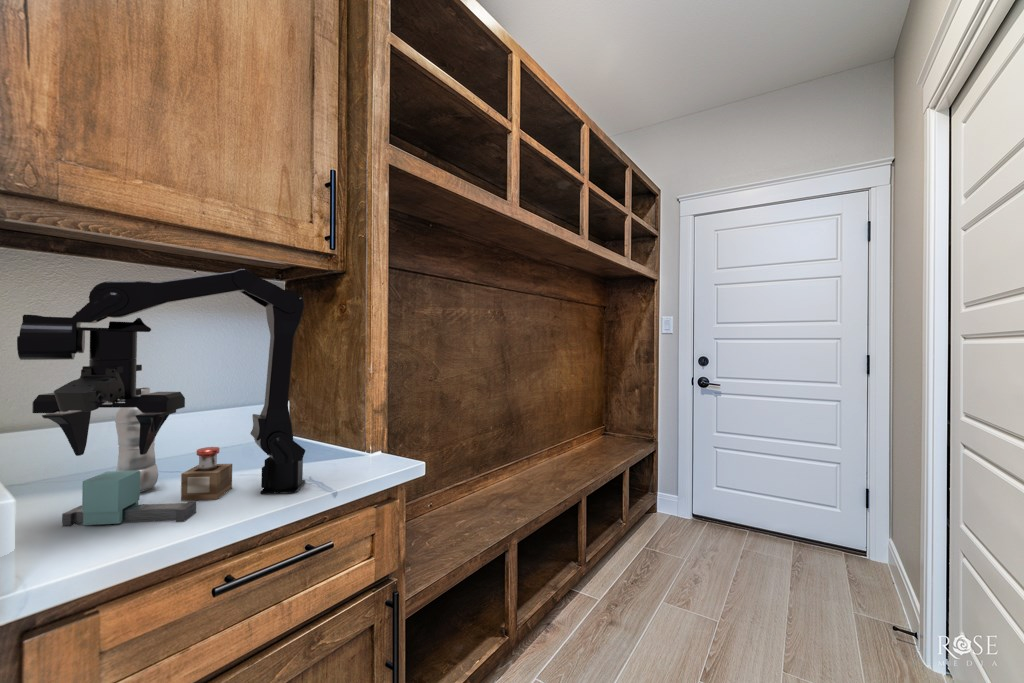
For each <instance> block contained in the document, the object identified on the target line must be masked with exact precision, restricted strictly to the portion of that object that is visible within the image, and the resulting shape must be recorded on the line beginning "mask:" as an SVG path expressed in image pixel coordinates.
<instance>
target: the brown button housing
mask: <svg viewBox="0 0 1024 683" xmlns="http://www.w3.org/2000/svg"><path fill="white" fill-rule="evenodd" d="M180 477H181V478H180V482H181V483H180V501H181V502H182V501H183V502H186V501H187V502H191V501H214V500H215V501H217V500H218V499H220V498H221V497H222V496H224V495H225V494H227V493H228V492H229V491H231V490H233V463H217V469H215V470H214V471H199V464H198V465H195V466H194V467H191V468H190V469H188V470H186V471H184V472H181V476H180ZM226 492H227V493H226ZM219 497H220V498H219Z"/></svg>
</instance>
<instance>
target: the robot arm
mask: <svg viewBox="0 0 1024 683" xmlns="http://www.w3.org/2000/svg"><path fill="white" fill-rule="evenodd" d="M237 292H240V293H241V294H243V295H245V297H248V298H249V299H251V300H252V301H254V302H255V303H257V304H258V305H260V306H262V307H264V308H265V313H266V321H267V326H268V330H269V336H270V338H269V346H268V347H269V348H268V361H267V371H266V372H267V374H266V384H265V394H264V404H263V407H262V409H261V412H260V414H255V413H253V414H252V430H251V431H250V435H251V436H252V437H253V439H254V442H255V444H256V445H257V446H258V447H259V448H260V449H261V450H262V451H263V452H264V453H265V454H266V455H267V456H268V457H267V458H265V459H264V465H263V466H262V467H261V489H260V495H267V494H293V493H297V492H298V491H299V490H300V488H302V486H304V484H305V483H306V480H305V479H304V478H303V474H304V472H303V470H304V469H303V466H304V461H303V460H304V455H305V453H306V449H305V448H303V447H302V446H301V445H300V444H299V443H298V442H296V441H295V440H294V434H293V433H294V432H293V425H292V424H293V423H292V419H291V418H292V417H291V414H290V410H289V397H290V388H291V375H292V374H291V373H292V364H293V353H294V352H293V350H294V342H295V341H294V338H295V335H296V332H297V330H299V329H298V328H299V326H300V324H301V320H302V318H303V314H304V310H305V300H304V298H303V296H302V295H301V294H300V293H298V292H297V291H295V290H292V289H284V288H282V287H280V286H278V285H277V284H275V283H272V282H270V281H268V280H266V279H265V278H262V277H260V276H258V275H256V274H255V273H253V272H252V271H251V270H249V269H245V268H240V269H236V270H233V271H227V272H219V273H212V274H205V275H199V276H191V277H184V278H178V279H177V278H176V279H169V280H163V281H146V280H145V281H142V280H108V281H107V280H106V281H101V282H100V283H97V284H96V285H95V286H94V287H92V289H91V290H90V292H89V296H88V303H86V304H85V305H84V306H83V307H82V308H80V309H79V310H78V311H75V314H74V315H73V316H69V317H66V316H65V317H64V316H63V317H62V316H44V315H39V314H37V315H36V314H23V315H22V323H21V325H20V329H19V335H18V336H16V342H17V343H16V349H17V356H18V358H19V360H20V361H32V360H33V361H35V360H36V361H42V360H43V361H44V360H45V361H47V360H49V361H51V360H52V361H53V360H55V361H56V360H59V361H60V360H61V361H62V360H63V361H64V360H65V361H66V360H69V361H70V360H75V357H76V354H77V353H78V354H84V353H85V348H86V332H87V331H88V332H89V363H88V364H89V365H85V366H84V365H83V366H82V367H81V370H80V375H79V378H77V379H74V380H70V381H69V382H67V383H65V384H64V385H62V386H60V387H58V388H57V389H55V390H54V391H53V392H49V393H42V394H41V393H40V394H37V396H36V397H35V399H33V400H32V402H31V403H32V405H31V406H32V408H31V410H32V411H31V413H32V414H41V417H42V418H43V419H48V420H50V421H52V422H54V423H55V424H57V425H58V426H59V427H60V429H61V430H62V432H63V433H64V436H65V438H66V439H67V441H68V443H69V445H70V447H71V448H72V451H73V452H74V454H75V456H77V457H80V456H82V455H84V454H85V450H86V447H87V443H88V437H89V436H88V435H89V428H90V422H91V415H92V411H95V410H98V409H99V408H119V409H120V408H121V407H137V408H138V409H139V410H140V411H141V412H142V413H143V414H139V415H135V416H136V418H137V420H138V421H139V423H140V437H139V450H140V455H144V454H146V453H147V452H148V450H149V448H150V446H151V444H152V442H153V440H154V439H155V440H156V436H157V435H158V433H159V431H160V430H161V428H162V426H163V425H164V423H165V422H166V420H167V419H168V417H169V416H170V415H171V414H172V415H173V414H175V413H177V410H180V409H185V408H186V406H185V405H186V398H185V396H184V394H183V393H182V392H181V391H155V392H150V393H149V394H144V395H141V389H136V388H137V372H140V371H143V365H142V364H138V363H137V362H138V360H137V359H138V358H137V357H138V356H137V354H138V353H137V352H138V332H139V333H150V332H151V331H152V328H151V327H149V326H148V325H147V324H146V323H144V321H143V320H142V318H140V317H136V319H135V320H134V321H115V320H113V321H111V320H110V321H109V323H108V327H88V326H87V327H85V326H82V327H81V324H97V323H99V322H101V321H103V320H105V319H108V318H112V319H122V318H127V317H128V316H132V315H135V314H139V313H142V312H145V311H148V310H151V309H153V308H156V307H158V306H162V305H166V304H170V303H175V302H180V301H188V300H192V299H193V300H194V299H199V298H206V297H210V296H217V295H223V294H228V293H237ZM136 395H141V396H136Z"/></svg>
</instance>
